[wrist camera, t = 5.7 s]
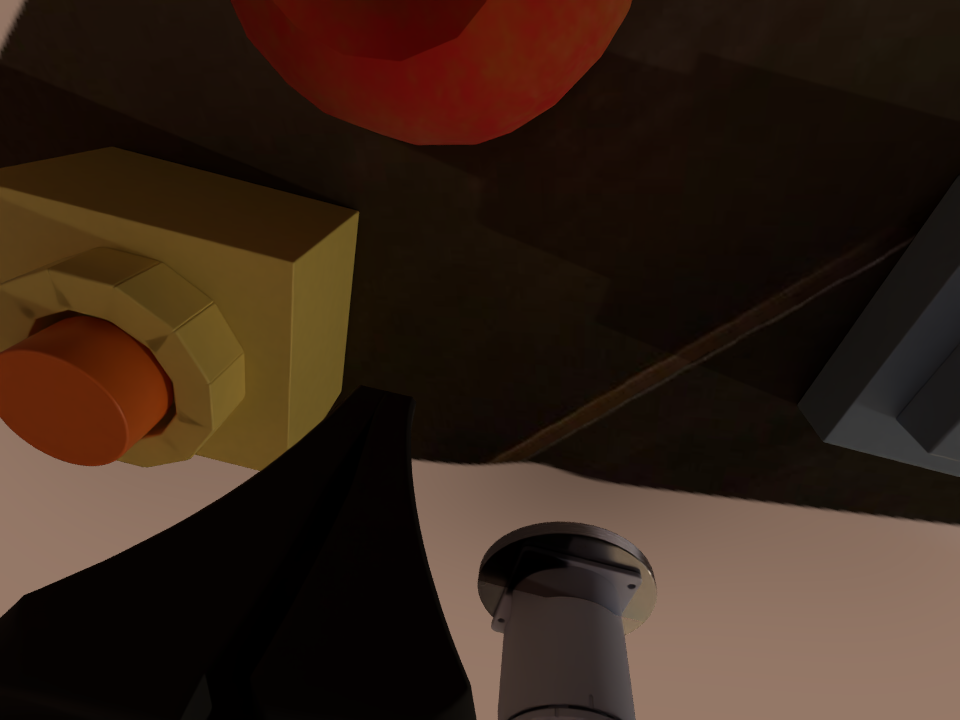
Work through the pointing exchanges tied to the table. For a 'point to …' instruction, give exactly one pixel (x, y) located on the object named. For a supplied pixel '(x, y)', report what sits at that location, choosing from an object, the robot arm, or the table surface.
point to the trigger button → (82, 390)
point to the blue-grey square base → (902, 358)
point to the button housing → (188, 291)
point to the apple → (432, 59)
